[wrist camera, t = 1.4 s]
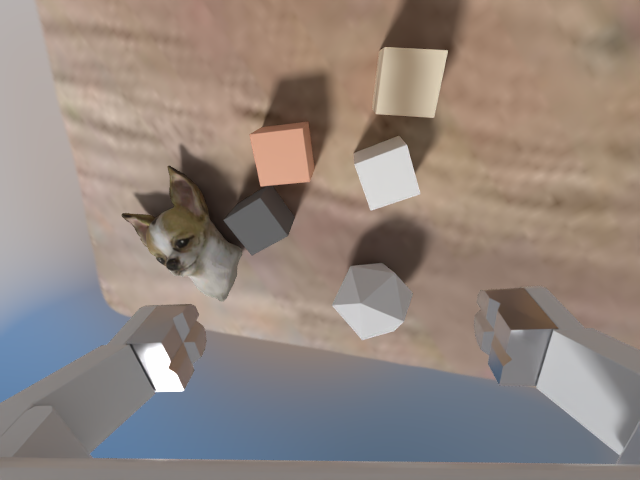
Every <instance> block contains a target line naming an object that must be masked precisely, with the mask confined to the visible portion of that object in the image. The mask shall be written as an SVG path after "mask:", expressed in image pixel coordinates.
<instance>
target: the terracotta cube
mask: <svg viewBox="0 0 640 480" xmlns="http://www.w3.org/2000/svg"><path fill="white" fill-rule="evenodd" d="M249 135H250V140H251V144H252V149H253V154H254V158H255V163H256V168H257V172H258V177H259V182H260V186H270V185H281V184H291V183H302V182H310V180H311V177H312V174H313V172H314V169H315V168H314V160H313V153H312V145H311V137H310V130H309V122H300V123H292V124H283V125H275V126H267V127H261V128H260V129H258V130H256V131H255V132H253V133H251V134H249Z"/></svg>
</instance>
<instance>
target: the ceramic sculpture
mask: <svg viewBox="0 0 640 480" xmlns="http://www.w3.org/2000/svg"><path fill="white" fill-rule="evenodd" d="M168 171H169V175H170V189H169V192H170V197H171V201H172V203H173V205H174V207H173V208H172V209H169V210H167V211H165V212H163V213H161V214H160V215H159V216H157V217H156V218H155V217H153V216H151V215H144V214H129V213H123V214H122V217H123V218H124V219H125V220H126V221H128V222H130V223H131V224H132V225H133V226H134V228H135V230H136V232H137V234H138V235H139V236H140V237H141V241H142V242H143V244H144V245H145V246H146V247H148V249H149V251H150V253H151V254H152V255H154V256H156V259H157V260H158V261H159V262H160V263H162V264H163V265H164V266H166V267H167V268H168V270H169V271H170V273H172V274H173V275H175V276H178V275H179V276H182V277H187V276H188V277H189V278H190V279H191V280H192V281H193V283H194V284H195V286H196V287H197V289H198V290H199V291H200V292H202V293H203V294H205V295H206V296H209V297H212V298H216V299H218V300H219V301H221V302H223V301H224V300H225V299H226V298H227V296H228V294H229V292H230V290H231V288H232V286H233V284H234V282H235V279H236V277H237V265H238V262H239V259H240V257H241V256H242V249H241V248H240V247H239V246H236V245H234V244H231V243H229V242H227V241H226V240H225V239H224V237H223V236H222V235H221V233H220V232H219V231H218V230H217V229H216V227H215V226H214V224H213V223H212V222H211V221H210V220H209V211H208V208H207V204H206V202H205V199H204V196H203V195H202V193H201V191H200V189H199V188H198V187H197V185H196V184H195V183H193V182H192V181H191V180H190V178H188V177H187V176H186V175H184V174H183V173H181V172H179V171H178V170H176V169H174V168H173V167H171V166H168Z"/></svg>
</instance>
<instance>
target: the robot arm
mask: <svg viewBox="0 0 640 480" xmlns="http://www.w3.org/2000/svg"><path fill="white" fill-rule="evenodd" d="M477 304H478V305H479V307H480V310H479V311H478V312H477V313H476V314H475V318H474V330H475V336H476V339H477V342H478V344H479V347H480V349H481V350H482V351H483V352H485V353H486V354H488V355H489V360H488V365H489V367H490V369H491V371H492V373H493V374H494V376H495V378H496V380H497V382H498V384H499V386H537V387H536V388H537V389H538V390H540V391H541V392H542V393H543V394H545V395H546V396H547V397H548V398H550V399H551V400H552V401H553V402H555V403H556V404H557V405H558V406H560V407H561V408H562V409H563V410H565V411H566V412H567V413H568V414H569V415H571V416H572V417H573V418H574V419H576V420H577V421H578V422H579V423H581V424H582V425H583V426H584V427H585V428H587V429H588V430H589V431H590V432H592V433H593V434H594V435H595V436H597V437H598V438H599V439H600V440H601V441H603V442H604V443H605V444H606V445H608V446H609V447H610V448H611V449H613V450H614V451H615V452H616V453H618V454H619V455H620V457H619V459H618V460H617V462H616V464H556V463H553V464H551V463H467V462H464V463H463V462H370V461H369V462H367V461H363V462H362V461H284V460H282V461H281V460H202V459H199V460H198V459H117V458H110V459H109V458H92V456H91V455H90V453H91V452H92V451H93V450H94V449H95V448H96V447H97V446H99V445H100V444H101V443H102V442H103V441H104V440H105V439H106V438H107V437H108V436H109V435H110V434H112V433H113V432H114V431H115V430H116V429H117V428H118V427H119V426H120V425H122V424H123V423H124V422H125V421H126V420H127V419H128V418H129V417H130V416H131V415H132V414H134V413H135V412H136V411H137V410H138V409H139V408H140V407H141V406H142V405H143V404H145V403H146V401H148V400H149V399H150V398H151V397H152V396H153V395H154V394H155V392H164V391H184V389H185V388H186V386H187V383H188V382H189V380H190V378H191V376H192V374H193V372H194V368H193V364H194V363H195V362H196V361H198V360H199V359H200V358H201V357H202V355H203V352H204V350H205V346H206V332H205V329H204V327H203V326H202V325H201V324H200V323H199V322H197V321H196V320H197V318H198V316H199V313H198V311H197V309H196V307H195V306H194V305H192V304H180V305H151V306H144V307H141V308H140V309H139V310H138V311H137V312H136V313H135V314H134V315H133V316H132V317H131V319H130V320H129V321H128V322H127V323H126V324H125V325H124V326H123V327H122V329H121V330H120V331H119V332H118V333H117V334H116V335H115V336H114V337H113V339H112V340H111V341H110V342H109V343H108V344H107V345H102V346H100V347H98V348H96V349H95V350H93V351H91V352H89V353H87V354H86V355H84V356H82V357H80V358H79V359H77V360H75V361H73V362H72V363H70V364H68V365H66V366H65V367H63V368H61V369H59V370H58V371H56V372H54V373H52V374H50V375H49V376H47V377H45V378H44V379H42V380H40V381H38V382H37V383H35V384H33V385H31V386H29V387H28V388H26V389H24V390H23V391H21V392H19V393H17V394H16V395H14V396H12V397H10V398H8V399H7V400H5V401H3V402H1V403H0V480H640V350H638V349H636V348H634V347H632V346H630V345H628V344H625V343H623V342H621V341H619V340H617V339H615V338H612V337H610V336H608V335H606V334H604V333H601V332H599V331H597V330H595V329H593V328H586V329H585V328H584V327H583V326H582V325H581V324H580V323H579V322H578V320H577V319H576V318H575V317H574V316H573V315H572V314H571V313H570V312H569V311H568V310H567V309H566V308H565V307H564V306H563V305H562V304H561V303H560V302H559V301H558V300H557V299H556V298H555V297H554V296H553V295H552V294H551V293H550V292H549V291H548V290H547V289H546V288H545V287H543V286H529V287H520V288H507V289H489V290H480V291H479V293H478V297H477Z"/></svg>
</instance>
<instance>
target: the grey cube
mask: <svg viewBox="0 0 640 480" xmlns="http://www.w3.org/2000/svg"><path fill="white" fill-rule="evenodd" d="M354 164H355V167H356V170H357V173H358V176H359V179H360V182H361V184H362V187H363V190H364V193H365V196H366V199H367V201H368V204H369V207H370V210H374V209H377V208H380V207H383V206H386V205H389V204H392V203H395V202H398V201H401V200H404V199H407V198H410V197H413V196H416V195H419V194H420V191H419V187H418V183H417V180H416V176H415V172H414V169H413V165H412V161H411V158H410V154H409V150H408V146H407V144H406V143H405V142H404V141H403V140H402V138H401V137H400V136H397V137H394V138H392V139H389V140H386V141H384V142H381V143H378V144H376V145H373V146H371V147H368V148H365V149H363V150H360V151H358V152H355V153H354Z"/></svg>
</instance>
